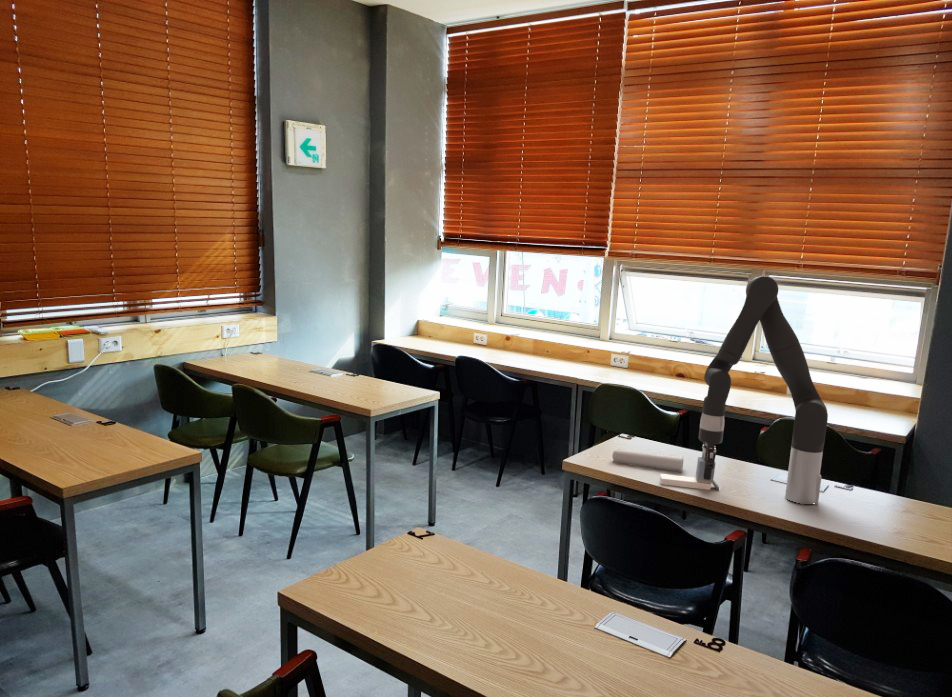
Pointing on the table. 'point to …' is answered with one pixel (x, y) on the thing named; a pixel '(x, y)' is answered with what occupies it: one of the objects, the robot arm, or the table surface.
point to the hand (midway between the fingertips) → (706, 476)
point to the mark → (715, 485)
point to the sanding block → (701, 471)
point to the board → (683, 481)
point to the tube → (648, 460)
